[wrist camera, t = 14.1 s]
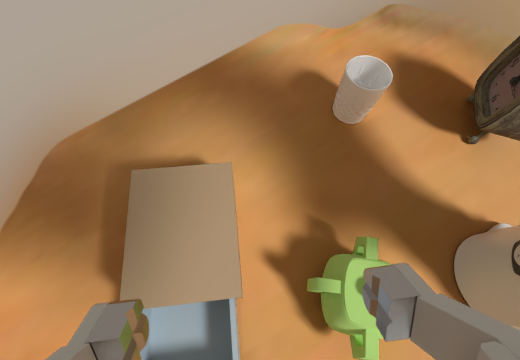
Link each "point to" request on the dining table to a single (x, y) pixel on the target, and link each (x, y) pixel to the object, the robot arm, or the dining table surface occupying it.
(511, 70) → the tabletop clock
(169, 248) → the sleeve
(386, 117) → the dining table surface
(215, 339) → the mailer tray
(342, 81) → the white cup
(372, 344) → the teapot
